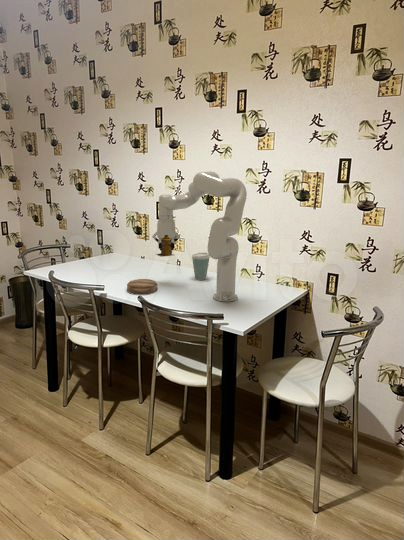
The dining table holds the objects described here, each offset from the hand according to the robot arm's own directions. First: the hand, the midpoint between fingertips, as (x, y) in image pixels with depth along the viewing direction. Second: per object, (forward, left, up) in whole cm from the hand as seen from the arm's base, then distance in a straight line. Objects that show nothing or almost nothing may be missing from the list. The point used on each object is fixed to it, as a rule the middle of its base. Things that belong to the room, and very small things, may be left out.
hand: (166, 249), depth 239 cm
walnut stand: (-13, +13, -19) cm, 27 cm away
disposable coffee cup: (+8, -20, -19) cm, 29 cm away
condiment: (0, +1, -3) cm, 3 cm away
